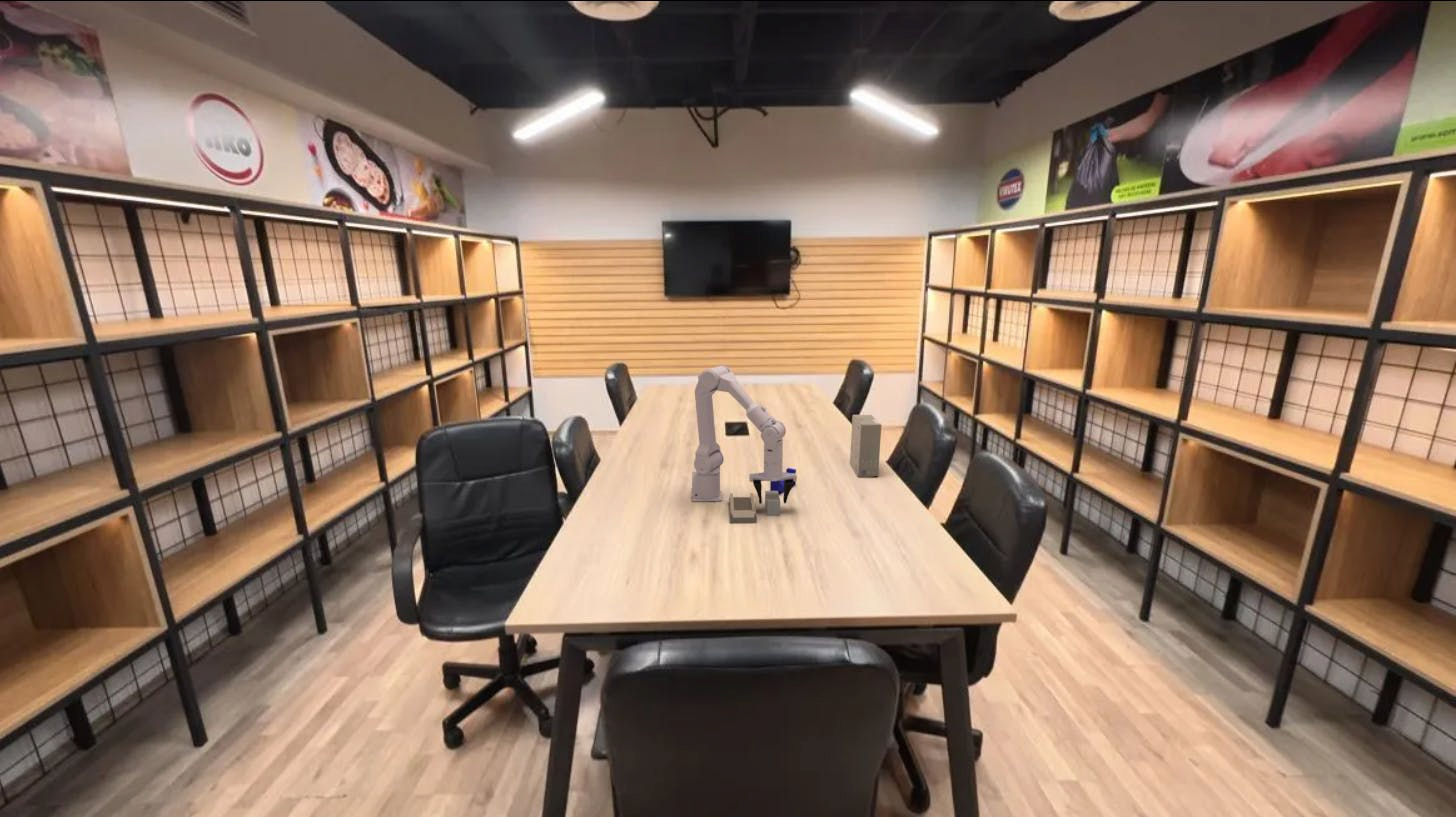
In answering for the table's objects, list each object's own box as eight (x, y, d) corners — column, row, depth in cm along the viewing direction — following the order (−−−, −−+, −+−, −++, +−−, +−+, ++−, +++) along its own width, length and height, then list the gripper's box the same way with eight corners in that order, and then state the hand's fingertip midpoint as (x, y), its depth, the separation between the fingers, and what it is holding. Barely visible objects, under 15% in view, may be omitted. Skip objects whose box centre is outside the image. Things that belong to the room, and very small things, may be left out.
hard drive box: (878, 477, 202) (882, 424, 197) (857, 477, 202) (860, 424, 198) (868, 463, 217) (871, 414, 212) (849, 463, 217) (851, 414, 213)
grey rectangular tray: (730, 523, 166) (730, 512, 165) (729, 501, 181) (729, 491, 181) (756, 522, 166) (756, 511, 165) (753, 501, 182) (753, 491, 181)
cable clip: (784, 482, 198) (784, 467, 197) (795, 485, 196) (796, 469, 194) (766, 493, 189) (766, 476, 187) (777, 496, 186) (778, 479, 185)
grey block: (767, 516, 171) (767, 500, 170) (764, 505, 179) (765, 490, 178) (780, 515, 171) (780, 500, 170) (777, 505, 179) (777, 490, 178)
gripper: (750, 465, 167) (750, 507, 170) (798, 465, 167) (797, 507, 170) (749, 458, 174) (749, 498, 177) (795, 457, 174) (794, 498, 177)
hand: (772, 502), depth 174 cm, fingers open, 7 cm apart
